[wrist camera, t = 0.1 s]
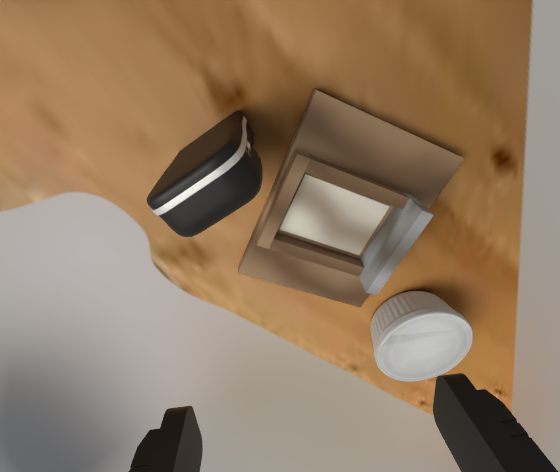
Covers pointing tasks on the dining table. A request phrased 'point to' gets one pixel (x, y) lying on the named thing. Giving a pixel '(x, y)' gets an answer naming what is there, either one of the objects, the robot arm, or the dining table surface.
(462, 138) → the dining table surface
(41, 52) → the dining table surface
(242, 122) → the battery charger
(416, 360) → the ramekin
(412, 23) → the dining table surface
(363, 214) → the rail board
